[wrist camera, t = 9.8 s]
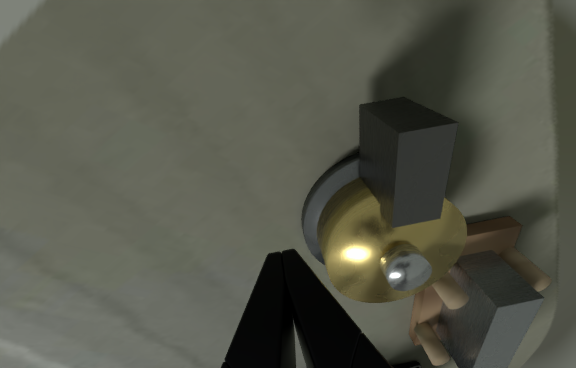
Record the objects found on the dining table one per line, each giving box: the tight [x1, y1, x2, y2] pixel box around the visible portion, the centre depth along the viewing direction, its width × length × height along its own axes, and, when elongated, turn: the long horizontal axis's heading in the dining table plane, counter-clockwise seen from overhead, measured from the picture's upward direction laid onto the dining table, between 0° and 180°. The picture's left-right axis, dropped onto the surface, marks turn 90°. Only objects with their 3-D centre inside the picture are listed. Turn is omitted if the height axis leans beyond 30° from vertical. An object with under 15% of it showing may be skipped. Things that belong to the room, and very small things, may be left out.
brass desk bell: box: [301, 153, 432, 291], centre depth 17 cm, size 10×10×6 cm
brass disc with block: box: [317, 97, 467, 303], centre depth 16 cm, size 13×8×4 cm
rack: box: [409, 216, 552, 366], centre depth 24 cm, size 14×8×4 cm, turn 8°
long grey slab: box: [436, 250, 544, 368], centre depth 22 cm, size 10×3×4 cm, turn 8°
